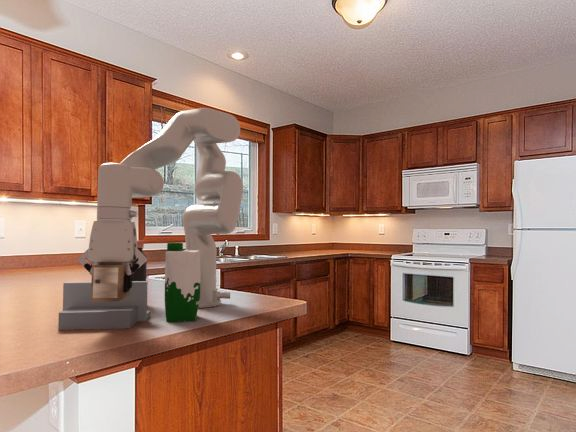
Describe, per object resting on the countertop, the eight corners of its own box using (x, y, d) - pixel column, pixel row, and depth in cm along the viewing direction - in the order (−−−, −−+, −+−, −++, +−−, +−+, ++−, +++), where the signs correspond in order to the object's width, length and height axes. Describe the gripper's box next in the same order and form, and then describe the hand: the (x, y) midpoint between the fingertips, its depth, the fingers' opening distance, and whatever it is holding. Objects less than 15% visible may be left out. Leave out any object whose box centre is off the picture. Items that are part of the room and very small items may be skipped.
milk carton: (167, 315, 107) (168, 242, 107) (200, 314, 108) (201, 242, 109) (162, 323, 98) (163, 243, 99) (198, 322, 99) (199, 243, 100)
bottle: (146, 307, 118) (147, 241, 118) (121, 308, 115) (123, 241, 116) (145, 303, 124) (146, 240, 125) (122, 304, 121) (123, 240, 122)
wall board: (150, 316, 106) (150, 279, 106) (138, 328, 93) (139, 285, 93) (71, 318, 103) (72, 280, 103) (49, 330, 91) (50, 287, 91)
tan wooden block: (129, 294, 97) (130, 262, 97) (118, 301, 87) (119, 265, 88) (104, 295, 96) (105, 262, 96) (89, 302, 86) (91, 265, 87)
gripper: (154, 216, 98) (152, 289, 97) (82, 215, 96) (79, 289, 95) (148, 215, 90) (146, 293, 90) (69, 214, 88) (66, 294, 87)
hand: (111, 290), depth 92 cm, fingers closed on tan wooden block, 6 cm apart
